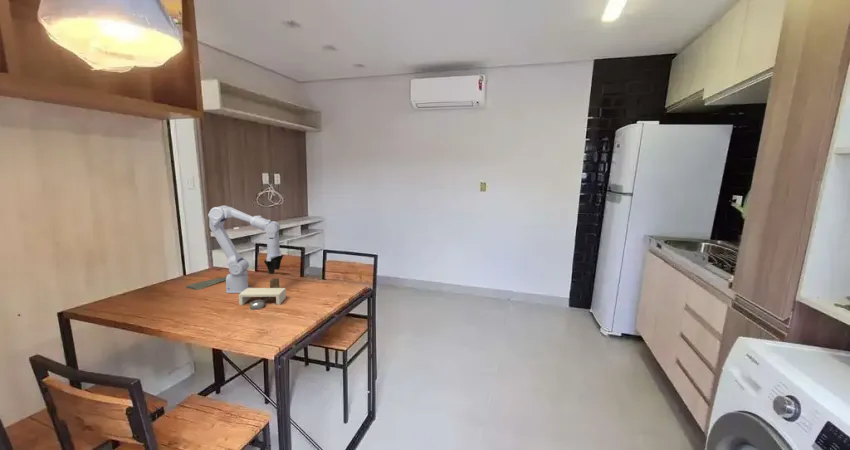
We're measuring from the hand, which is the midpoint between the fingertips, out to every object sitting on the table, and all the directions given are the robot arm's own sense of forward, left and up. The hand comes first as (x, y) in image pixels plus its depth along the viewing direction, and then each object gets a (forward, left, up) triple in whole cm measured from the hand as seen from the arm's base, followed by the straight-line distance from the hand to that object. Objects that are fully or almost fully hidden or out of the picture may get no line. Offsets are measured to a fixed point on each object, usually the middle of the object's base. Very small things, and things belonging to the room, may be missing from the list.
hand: (274, 271), depth 178 cm
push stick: (0, -8, -10) cm, 13 cm away
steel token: (0, -23, -10) cm, 25 cm away
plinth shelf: (0, -16, -10) cm, 19 cm away
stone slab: (-38, +12, -11) cm, 41 cm away
